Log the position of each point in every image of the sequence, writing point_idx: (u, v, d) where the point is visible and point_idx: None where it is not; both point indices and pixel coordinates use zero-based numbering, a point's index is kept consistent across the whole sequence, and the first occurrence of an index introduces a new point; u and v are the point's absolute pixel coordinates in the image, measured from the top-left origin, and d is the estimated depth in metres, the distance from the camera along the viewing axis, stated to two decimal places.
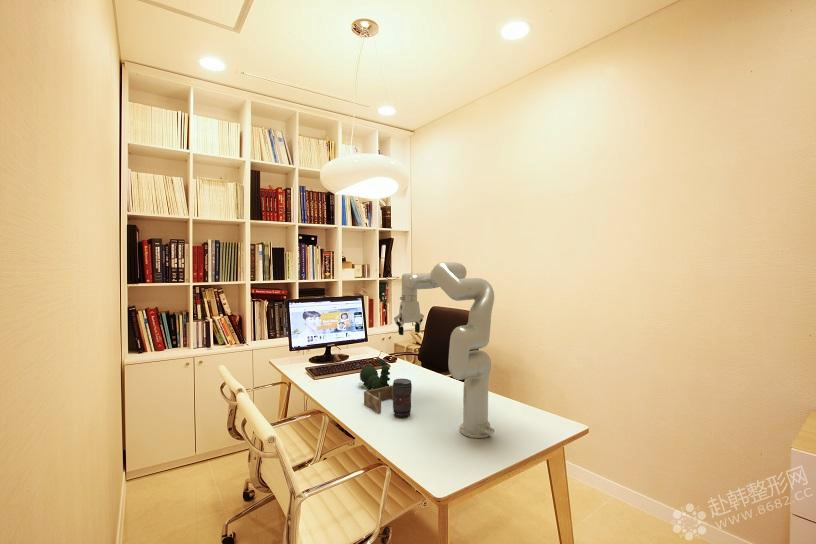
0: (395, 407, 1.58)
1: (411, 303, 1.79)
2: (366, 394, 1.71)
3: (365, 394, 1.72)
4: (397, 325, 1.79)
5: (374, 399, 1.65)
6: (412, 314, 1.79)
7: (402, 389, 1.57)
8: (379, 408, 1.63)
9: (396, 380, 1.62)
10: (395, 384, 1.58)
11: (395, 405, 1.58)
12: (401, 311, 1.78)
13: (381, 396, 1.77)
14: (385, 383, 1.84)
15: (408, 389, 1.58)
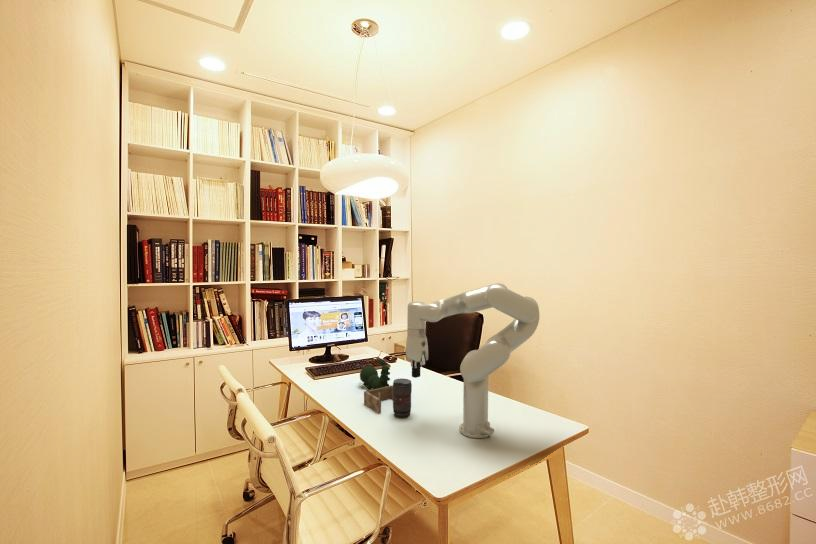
0: (395, 407, 1.58)
1: None
2: (366, 394, 1.71)
3: (365, 394, 1.72)
4: (416, 367, 1.50)
5: (374, 399, 1.65)
6: None
7: (402, 389, 1.57)
8: (379, 408, 1.63)
9: (396, 380, 1.62)
10: (395, 384, 1.58)
11: (395, 405, 1.58)
12: (424, 348, 1.49)
13: (381, 396, 1.77)
14: (385, 383, 1.84)
15: (408, 389, 1.58)
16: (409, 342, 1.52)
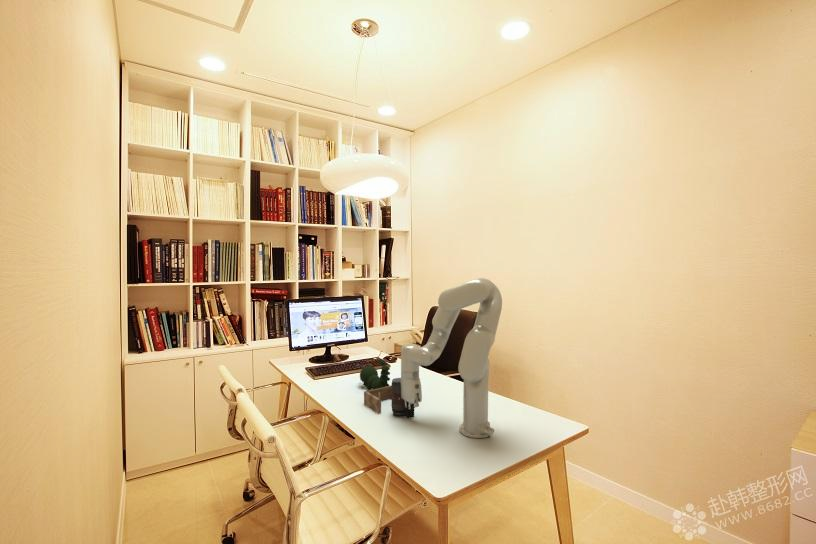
0: (393, 406, 1.59)
1: None
2: (366, 394, 1.71)
3: (365, 394, 1.72)
4: (410, 408, 1.54)
5: (374, 399, 1.65)
6: None
7: None
8: (379, 408, 1.63)
9: (395, 379, 1.63)
10: (394, 383, 1.59)
11: (394, 404, 1.59)
12: (418, 390, 1.52)
13: (381, 396, 1.77)
14: (385, 383, 1.84)
15: None
16: (403, 384, 1.56)
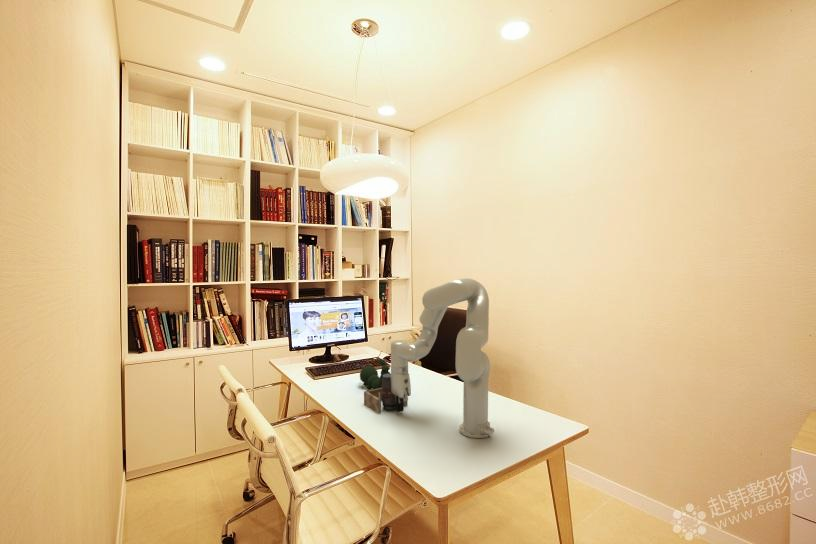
0: (384, 401, 1.65)
1: None
2: (366, 394, 1.71)
3: (365, 394, 1.72)
4: (399, 402, 1.60)
5: (374, 399, 1.65)
6: None
7: None
8: (379, 408, 1.63)
9: (385, 375, 1.69)
10: (384, 378, 1.65)
11: (384, 399, 1.65)
12: (407, 385, 1.58)
13: (381, 396, 1.77)
14: None
15: None
16: (393, 379, 1.62)
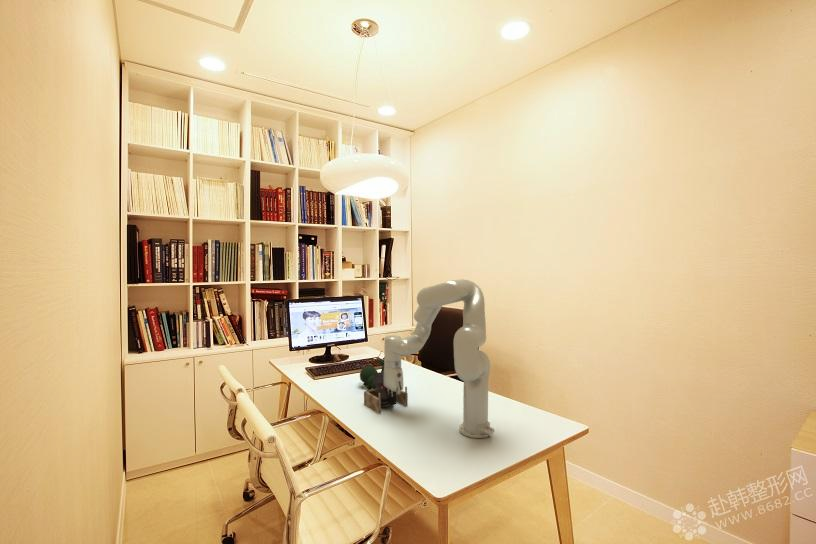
0: (378, 397, 1.68)
1: None
2: (366, 394, 1.71)
3: (365, 394, 1.72)
4: (392, 396, 1.64)
5: (374, 399, 1.65)
6: None
7: (382, 377, 1.69)
8: (379, 408, 1.63)
9: None
10: (375, 374, 1.71)
11: (378, 394, 1.68)
12: (400, 379, 1.62)
13: None
14: None
15: None
16: (386, 373, 1.65)
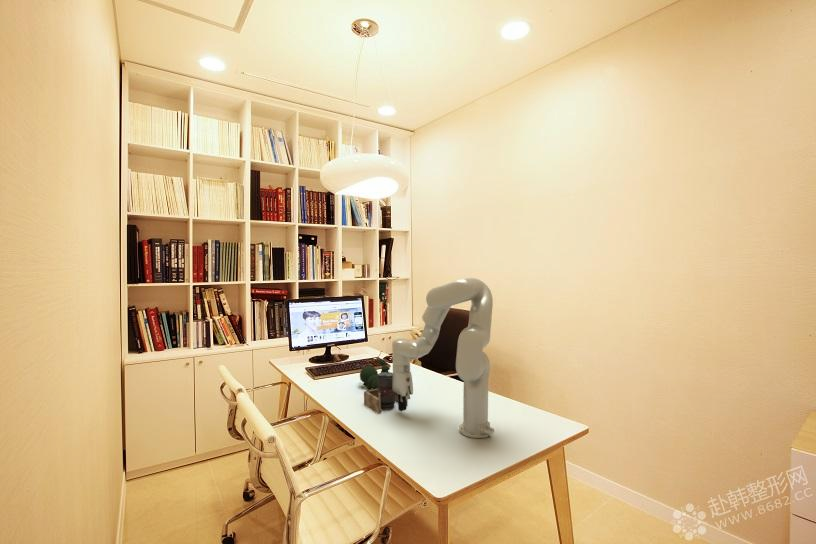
0: None
1: None
2: (366, 394, 1.71)
3: (365, 394, 1.72)
4: (402, 401, 1.59)
5: (374, 399, 1.65)
6: None
7: (386, 381, 1.66)
8: (379, 408, 1.63)
9: (380, 373, 1.71)
10: (379, 377, 1.67)
11: (380, 397, 1.67)
12: (409, 383, 1.58)
13: None
14: None
15: (391, 381, 1.67)
16: (395, 378, 1.61)
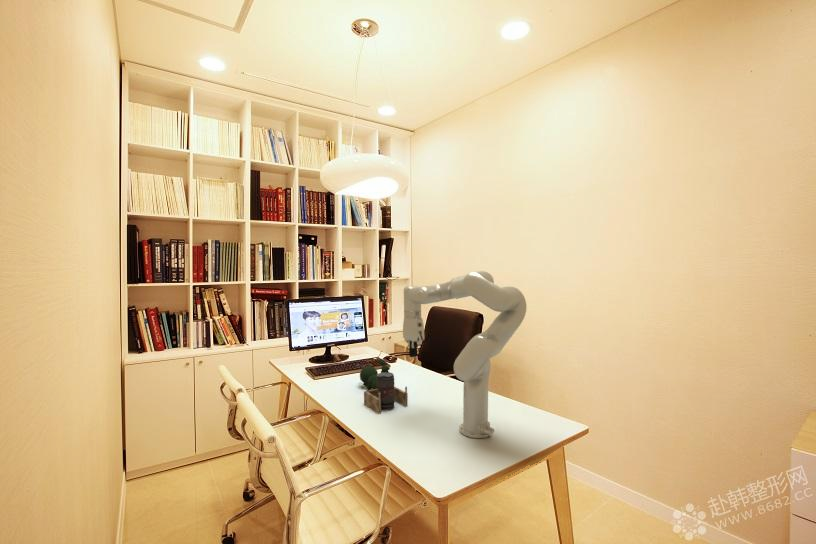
0: None
1: None
2: (366, 394, 1.71)
3: (365, 394, 1.72)
4: (413, 347, 1.60)
5: (374, 399, 1.65)
6: None
7: (386, 382, 1.65)
8: (379, 408, 1.63)
9: (379, 374, 1.70)
10: (378, 378, 1.67)
11: (380, 398, 1.67)
12: (420, 329, 1.59)
13: None
14: None
15: (391, 382, 1.66)
16: (406, 324, 1.62)
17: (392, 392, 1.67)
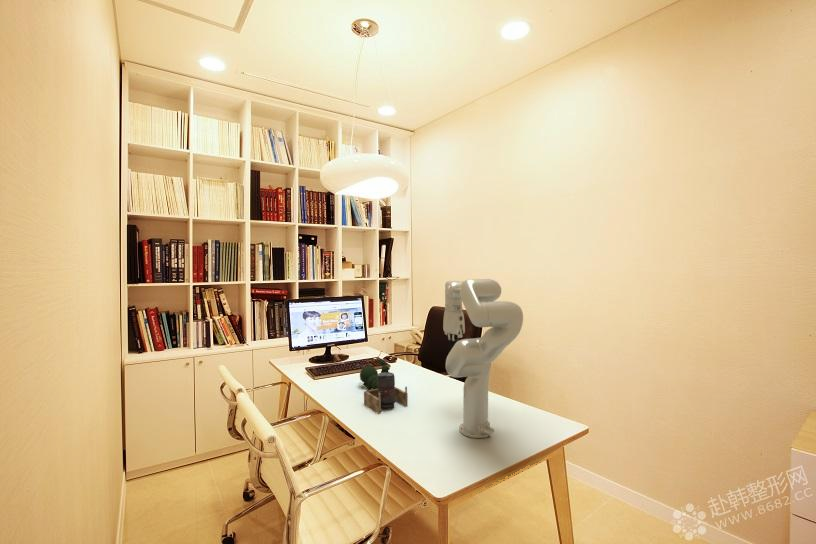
0: None
1: None
2: (366, 394, 1.71)
3: (365, 394, 1.72)
4: (454, 340, 1.66)
5: (374, 399, 1.65)
6: None
7: (387, 381, 1.66)
8: (379, 408, 1.63)
9: (379, 374, 1.70)
10: (380, 377, 1.67)
11: (381, 397, 1.66)
12: (461, 322, 1.64)
13: None
14: None
15: (392, 381, 1.67)
16: (447, 318, 1.67)
17: (393, 392, 1.68)
